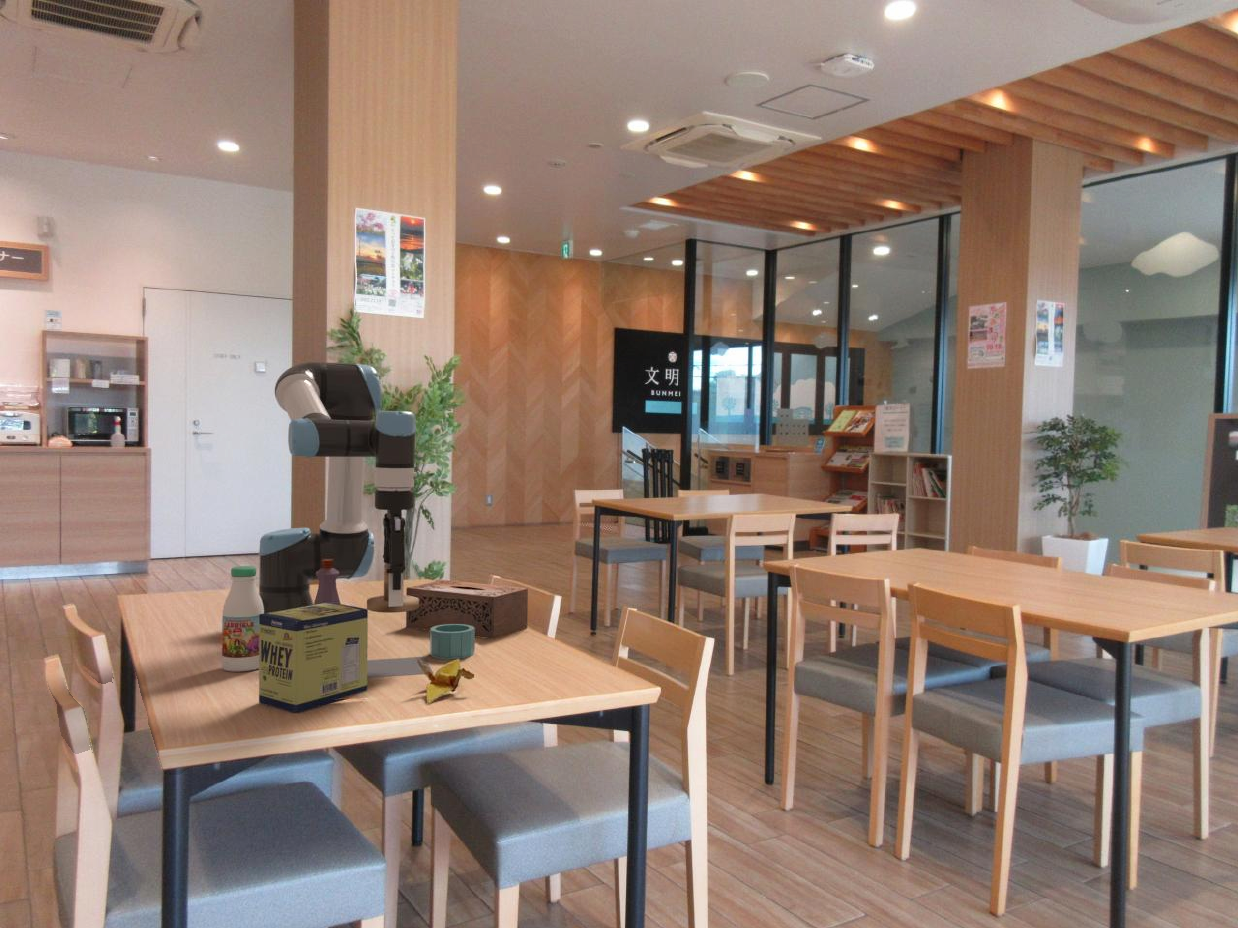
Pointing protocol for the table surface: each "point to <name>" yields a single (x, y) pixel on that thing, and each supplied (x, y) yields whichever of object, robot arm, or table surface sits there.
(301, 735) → the table surface
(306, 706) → the protein box
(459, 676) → the origami crane
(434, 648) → the teal short cylinder
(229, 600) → the milk bottle
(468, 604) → the tissue box cover
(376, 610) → the lid
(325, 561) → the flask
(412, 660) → the mat
